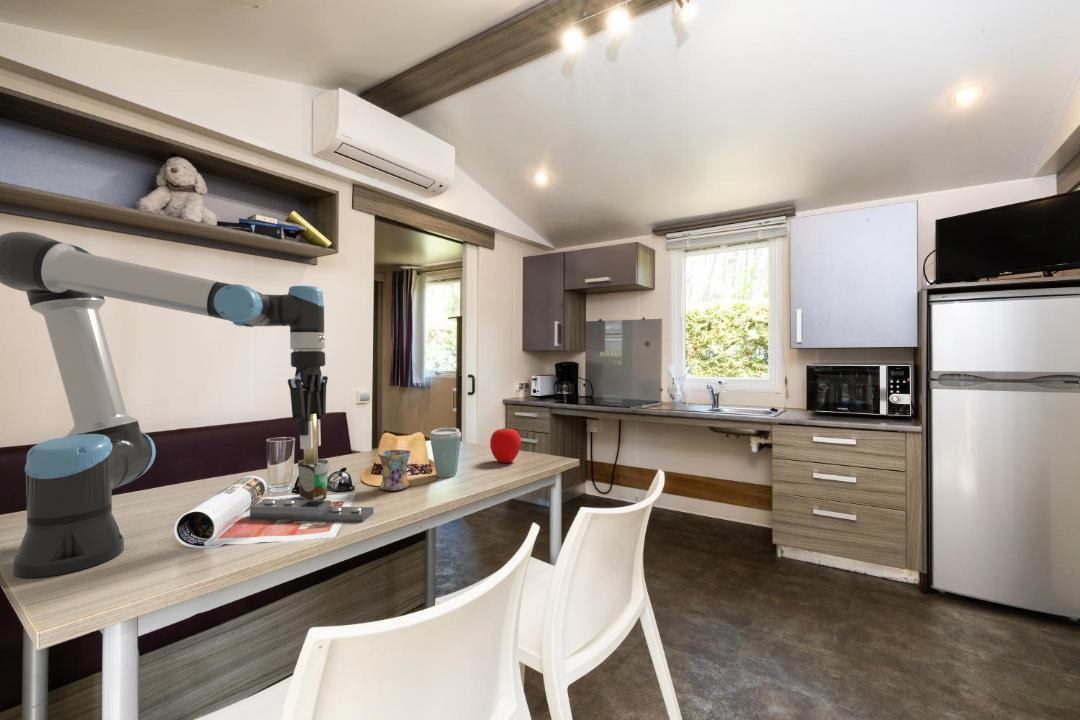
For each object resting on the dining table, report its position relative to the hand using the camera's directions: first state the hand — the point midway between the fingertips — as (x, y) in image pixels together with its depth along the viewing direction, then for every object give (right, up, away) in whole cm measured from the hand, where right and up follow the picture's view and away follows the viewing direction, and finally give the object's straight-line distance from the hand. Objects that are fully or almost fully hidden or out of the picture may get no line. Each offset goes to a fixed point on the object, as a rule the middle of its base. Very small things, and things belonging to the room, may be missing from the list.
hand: (310, 446), depth 115 cm
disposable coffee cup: (+25, -17, +40) cm, 50 cm away
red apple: (+43, -17, +59) cm, 75 cm away
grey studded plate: (0, -17, +1) cm, 17 cm away
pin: (0, -4, 0) cm, 4 cm away
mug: (+12, -17, +26) cm, 33 cm away
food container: (-6, -17, +16) cm, 25 cm away
